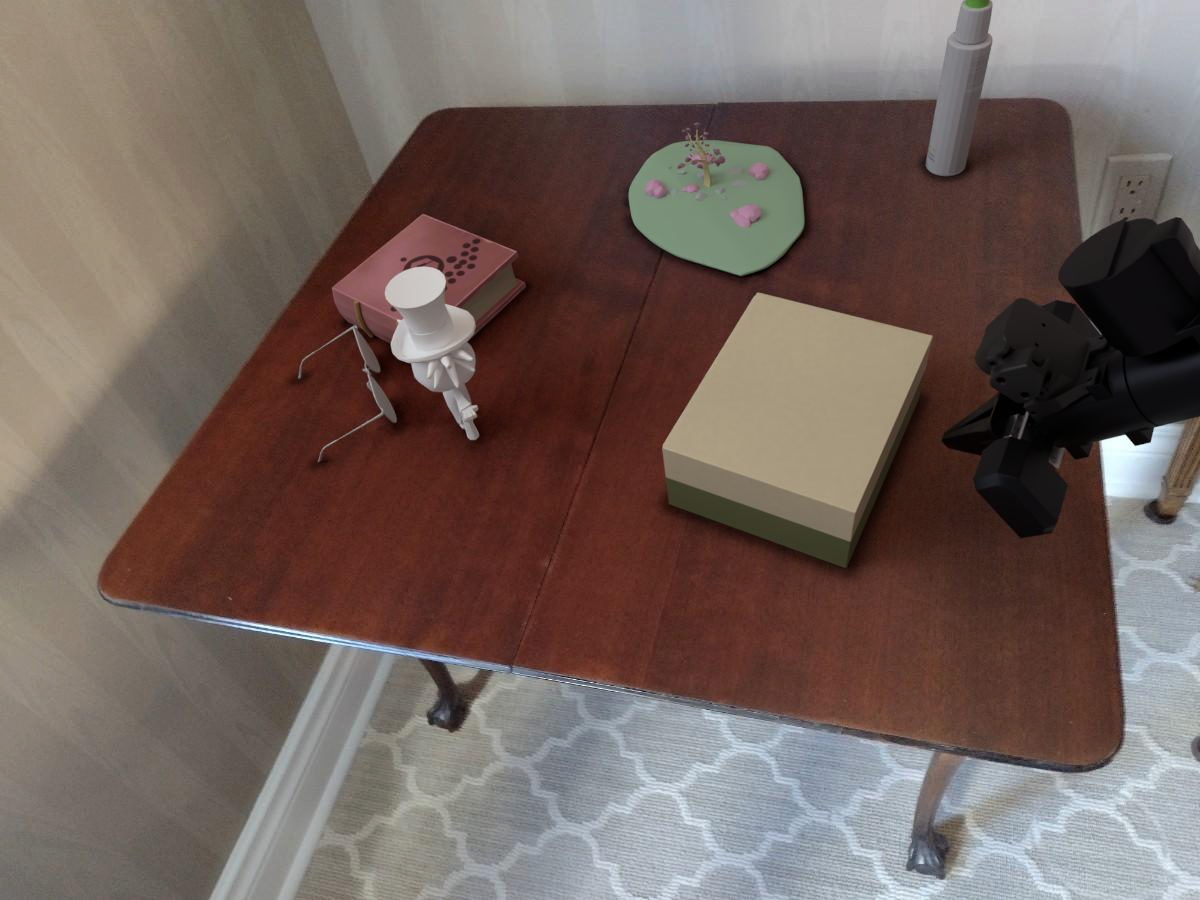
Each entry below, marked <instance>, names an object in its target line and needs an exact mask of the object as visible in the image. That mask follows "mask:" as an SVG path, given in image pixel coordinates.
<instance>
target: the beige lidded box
mask: <svg viewBox="0 0 1200 900" xmlns="http://www.w3.org/2000/svg"><path fill="white" fill-rule="evenodd" d="M933 338H934V336H933V335H931V334H928V333H923V332H919V331H915V330H911V329H908V328H903V327H899V326H895V325H891V324H887V323H883V322H879V321H875V320H871V319H867V318H863V317H859V316H855V315H851V314H846V313H842V312H839V311H834V310H831V309H827V308H822V307H818V306H814V305H811V304H806V303H804V302H803V303H802V302H798V301H795V300H791V299H787V298H783V297H779V296H774V295H770V294H766V293H762V292H759V291H758V292H756V294H755V295H753V298H752V299H751V300H750V302H749V304H748V305H747V306H746V309H745V310H744V312H743V314H741V316H740V319H739V320H738V322H737V323H736V324H735V326H734V328H733V329H732V332H730V335H729V336H728V338H727V340H726V341H725V342H724V344H723V346H722V348H721V349H720V351H719V352H718V354H717V356H716V357H715V359H714V361H713V362H712V364H711V366H710V367H709V368H708V371H706V374H705V375H704V377H703V378H702V380H701V382H700V383H699V385H698V386H697V388H696V390H695V392H694V393H693V395H692V396H691V398H690V400H689V402H688V403H687V404H686V406H685V408H684V410H683V412H681V414H680V416H679V418H678V420H677V421H676V423H675V424H674V426H673V427H672V429H671V431H670V432H669V434H668V436H667V437H666V439H665V440H664V442H663V444H662V448H661V450H662V458H663V466H664V475H665V482H666V491H667V498H668V499H667V500H668V505H670V506H673V507H675V508H678V509H681V510H684V511H686V512H690V513H692V514H694V515H698V516H700V517H703V518H706V519H709V520H711V521H714V522H716V523H720V524H723V525H725V526H728V527H730V528H734V529H736V530H738V531H741V532H745V533H747V534H750V535H753V536H755V537H758V538H761V539H764V540H767V541H770V542H772V543H775V544H777V545H780V546H783V547H786V548H788V549H792V550H794V551H797V552H800V553H802V554H804V555H808V556H811V557H813V558H816V559H819V560H822V561H824V562H827V563H830V564H833V565H835V566H838V567H841V568H843V569H847V568H848V567H849V564H850V561H851V559H852V557H853V554H854V552H855V550H856V547H857V545H858V542H859V540H860V538H861V535H862V533H863V531H864V528H865V526H866V524H867V522H868V519H869V517H870V515H871V512H872V510H873V507H874V505H875V503H876V501H877V498H878V496H879V493H880V491H881V489H882V487H883V484H884V482H885V479H886V477H887V475H888V473H889V470H890V468H891V465H892V463H893V461H894V458H895V457H896V454H897V452H898V449H899V447H900V445H901V442H902V440H903V437H904V435H905V433H906V431H907V428H908V425H909V424H910V421H911V418H912V416H913V414H914V412H915V410H916V406H917V405H918V402H919V400H920V397H921V391H922V388H923V383H924V378H925V375H926V369H927V365H928V361H929V356H930V351H931V347H932V343H933Z"/></svg>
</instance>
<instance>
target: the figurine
mask: <svg viewBox="0 0 1200 900" xmlns="http://www.w3.org/2000/svg"><path fill="white" fill-rule="evenodd" d="M445 284H446V279H445V276H444V274H443V273H442V272H441V271H440V270H437V269H435V268H432V267H414V268H411V269H408V270H405V271H403V272H401V273H399V274H397V275H396V276H395V277H394V278H393V279H391V280H390V282H389V283H388V285H387V286H386V289H385V297H386V300H387V301H388V302H389V303H390V304H391V305H392V306H393V307H394V308H395V309H397V310H398V311H399V313H400V314H401V315H402V317H403V320H398V319H397V321H398V323H399V324H398V326H397V328H396V330H395V333H394V335H393V338H392V341H391V343H390V349H391V352H392V355H393V356H394V357H395V358H396V359H397V360H399V361H401V362H405V363H408V364H410V365H411V369H412V373H413V377H414V379H415V380H416V381H417V382H418V383H419V384H420V385H422V386H424V387H425V388H426V389H427V390H429V391H430V392H433V393H442V395H443V398H444V400H445V404H446V405H447V407H448V409H449V410H450V412H451V413H452V416H453V417H454V419H455V421H456V423H457V424H458V425H459V427H461V430H462V429H463V430H465V433H466V437H467V438H468V440H470V441H476V440H477V439H478V438H479V437H480V433H479V431H478V429H477V427H476V425H475V423H474V420H475V419H477V418H478V414H477V413H476V412H477V411H478V410H479V407H478V405H477V404H475V405H473V404H472V399H471V396H470V393H469V391H468V387H467V386H466V383H468V382H469V381H471V379H472V378H473V376H474V375H475V372H476V364H477V363H476V362H477V360H476V354H475V351H474V349H473V346H472V345H471V344H470V343H469V341H470V340H471V339H472V338H473V337H474V336H473V334H474V331H475V327H476V324H475V321H474V317H473V316H472V315H471V314H470V313H469V312H468V311H466V310H463V309H461V308H458V307H454V306H451V305H447V304H445V297H444V292H445ZM472 336H473V337H472ZM471 337H472V338H471ZM470 338H471V339H470ZM469 339H470V340H469ZM468 340H469V341H468ZM467 341H468V342H467Z"/></svg>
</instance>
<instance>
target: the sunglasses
mask: <svg viewBox="0 0 1200 900" xmlns="http://www.w3.org/2000/svg"><path fill="white" fill-rule="evenodd" d="M350 331H353V333H354V336H355V340H356V343H357V346H358V349H359V351H360V354H361V357H362V359H363V361H364V368H362V372H363V373H365V374H366V375H367V378H368V381H367V382H366V386H367V388H368V389H369V390H370V391H371V392H372V396H373V398H374V400H375V402H376V405H377V406H378V408H379V410H380V411H381V412H380V413H379V414H378V415H376V416H374V417H373V418H371V419H369V420H367V421H366V422H363V424H361V425H359V426H358V427H356V428H354V429H352V430H351V431H349V432H347V433H346V434H344V435H342V436H341V437H339V438H338V439H335V440H333V441H331V442H330V443H328V444H326V445H324V446H323V448H322V449H321V451H320V453H319V457H318V460H317V463H321V462H322V458H323V452H324V451H325V450H326V449H327V448H328V447H331V446H332V445H334V444H335V443H337V442H338V441H340V440H342V439H343V438H344V437H346V436H348V435H350V434H352V433H354V432H356V431H358V430H359V429H361V428H363V427H365V426H367V425H368V424H370V423H372V422H374V421H376V420H377V419H379V418H381V417H382V416H385V417H386V418H387V419H388V420H389V421H390V422H391V423H393V424H395V423H397V420H398V419H397V414H396V412H395V410H394V407H393V405H392V403H391V401H390V400H389V398H388V397H387V395H386V393H385V392H384V390H383V389H382V387H381V386H380V385H379V383H378V382H377V381H376V379H375V378H374V377H373V373H371V372H370V371H372V372H374V373H376V374H379V373H380V372H381V366H380V364H379V361H378V358H377V357H376V355H375V353H374V351H373V350H372V348H371V346H370V345H369V343H368V342H367V340H366V339H365V337H363V335H362V333H361V332H360V331H359V327H357V326H356V325H352V326H351V327H349V328H348V329H346V330H345V331H343V332H342V333H340V334H339V335H337V336H336V337H335V338H333V339H331V340H330V341H328V342H327V343H325V344H324V345H322V346H321V347H319V348H318V349H316V350H315V351H313V352H311V353H310V354H308V355H307V356H305V357H304V358H303V359H302V360H301V362H300V365H299V369H298V370H299V371H298V377H297V379H301V378H302V369H303V368H302V367H303V364H304V361H306V360H307V359H309V358H310V357H311V356H313V355H314V354H315V353H316V352H319V351H320V350H321V349H323V348H324V347H326V346H327V345H330V344H331V343H332V342H334V341H336V340H337V339H339V338H340V337H343V336H344V335H345V334H347V333H349V332H350ZM367 367H368V368H367Z"/></svg>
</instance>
